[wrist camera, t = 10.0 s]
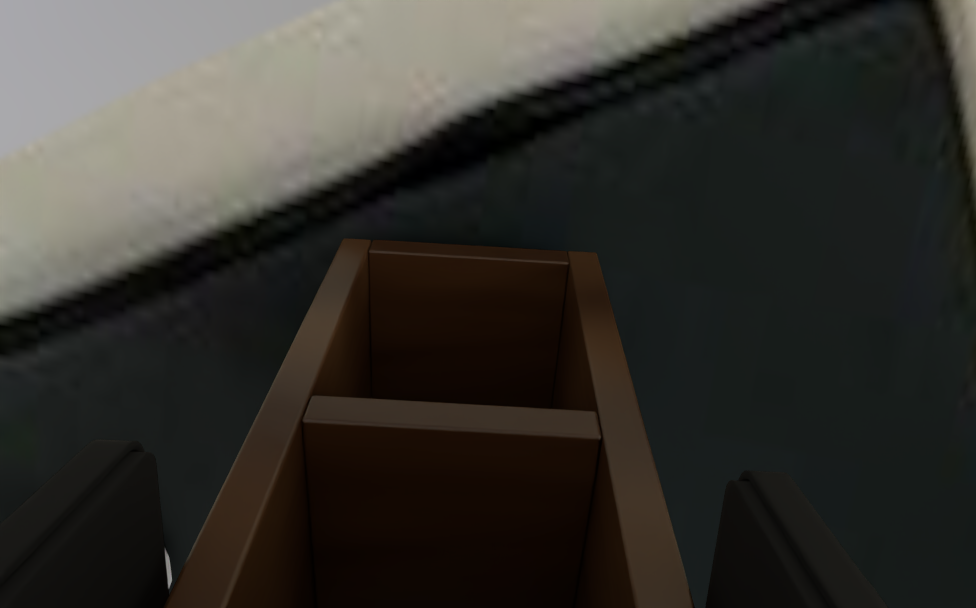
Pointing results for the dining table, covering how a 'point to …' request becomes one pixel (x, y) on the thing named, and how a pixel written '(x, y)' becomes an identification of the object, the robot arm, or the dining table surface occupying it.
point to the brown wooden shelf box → (445, 447)
